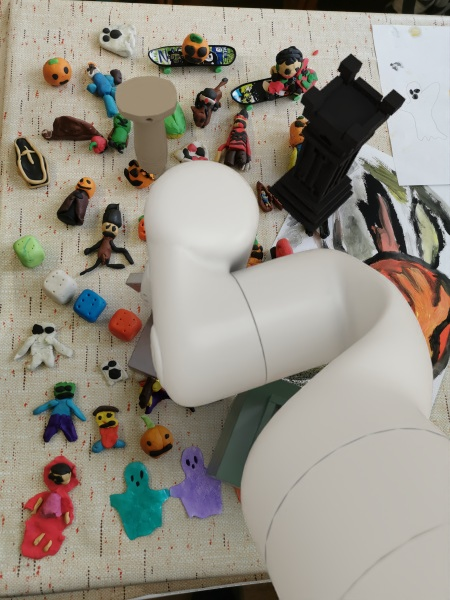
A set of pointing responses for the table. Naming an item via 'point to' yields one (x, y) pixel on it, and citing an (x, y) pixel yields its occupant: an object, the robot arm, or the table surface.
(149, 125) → the handle
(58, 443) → the table surface
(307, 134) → the chess piece
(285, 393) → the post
